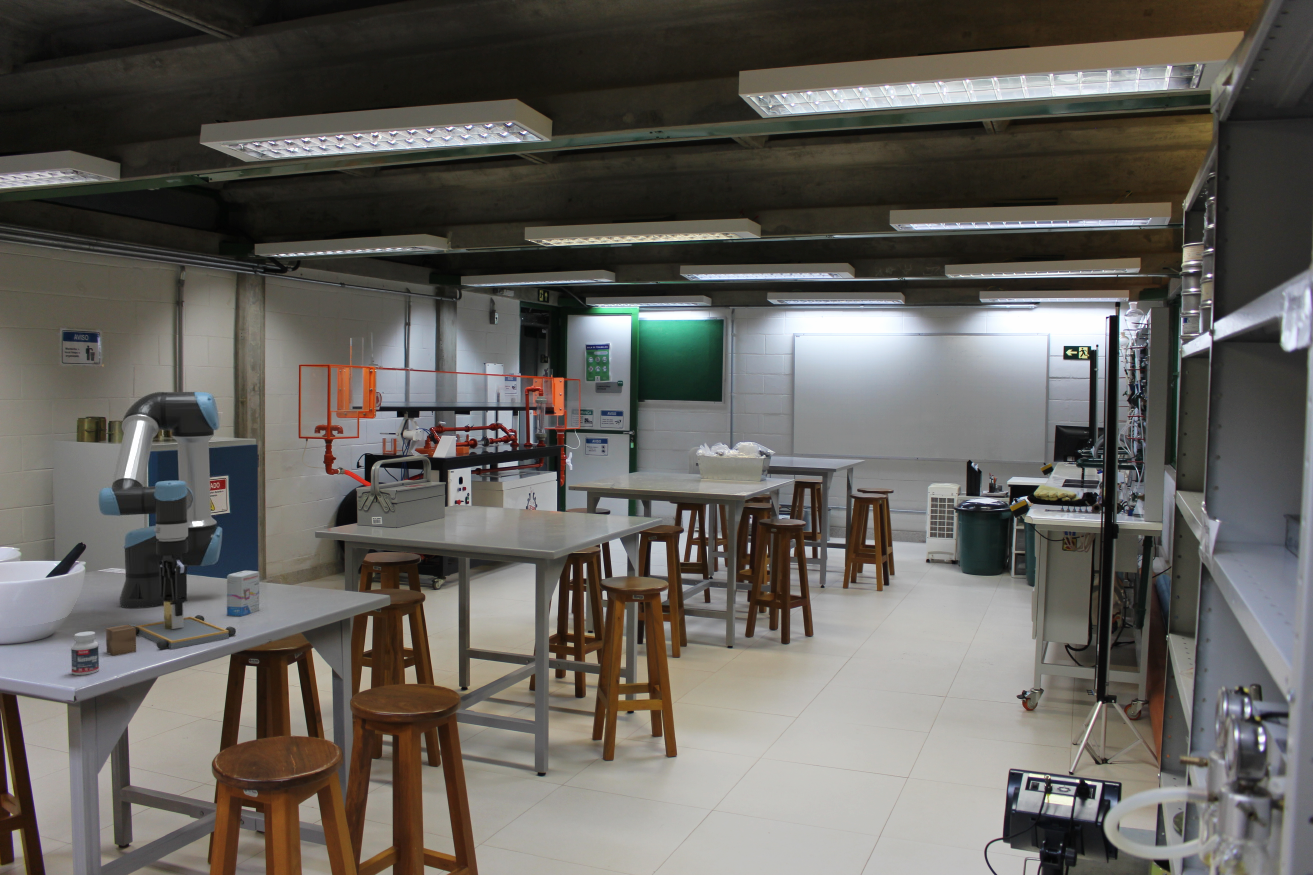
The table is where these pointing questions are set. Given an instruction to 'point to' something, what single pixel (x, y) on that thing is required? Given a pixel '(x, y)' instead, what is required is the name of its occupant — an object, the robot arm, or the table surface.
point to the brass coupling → (167, 615)
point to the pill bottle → (85, 654)
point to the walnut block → (121, 640)
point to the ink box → (242, 593)
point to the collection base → (184, 633)
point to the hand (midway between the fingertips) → (173, 626)
